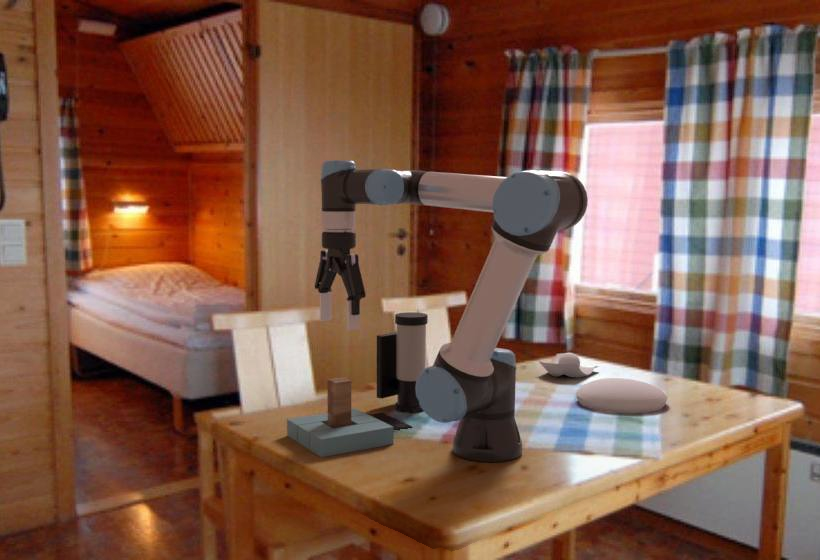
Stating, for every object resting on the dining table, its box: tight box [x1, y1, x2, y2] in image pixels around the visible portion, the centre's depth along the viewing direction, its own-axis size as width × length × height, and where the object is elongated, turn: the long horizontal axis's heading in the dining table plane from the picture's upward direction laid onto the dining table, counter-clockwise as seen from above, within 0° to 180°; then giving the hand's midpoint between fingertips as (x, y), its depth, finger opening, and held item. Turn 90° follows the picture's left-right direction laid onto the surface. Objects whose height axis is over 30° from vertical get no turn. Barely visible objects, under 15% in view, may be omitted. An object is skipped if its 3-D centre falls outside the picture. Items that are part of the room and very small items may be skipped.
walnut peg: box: [326, 376, 352, 428], centre depth 191 cm, size 4×4×14 cm
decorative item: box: [575, 377, 668, 414], centre depth 225 cm, size 24×7×20 cm
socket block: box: [286, 408, 395, 458], centre depth 192 cm, size 18×18×4 cm
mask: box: [538, 352, 600, 378], centre depth 259 cm, size 20×8×15 cm
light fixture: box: [376, 311, 429, 414], centre depth 219 cm, size 12×11×25 cm
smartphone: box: [369, 412, 413, 431], centre depth 206 cm, size 7×1×15 cm
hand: (339, 325), depth 189 cm, fingers open, 13 cm apart
